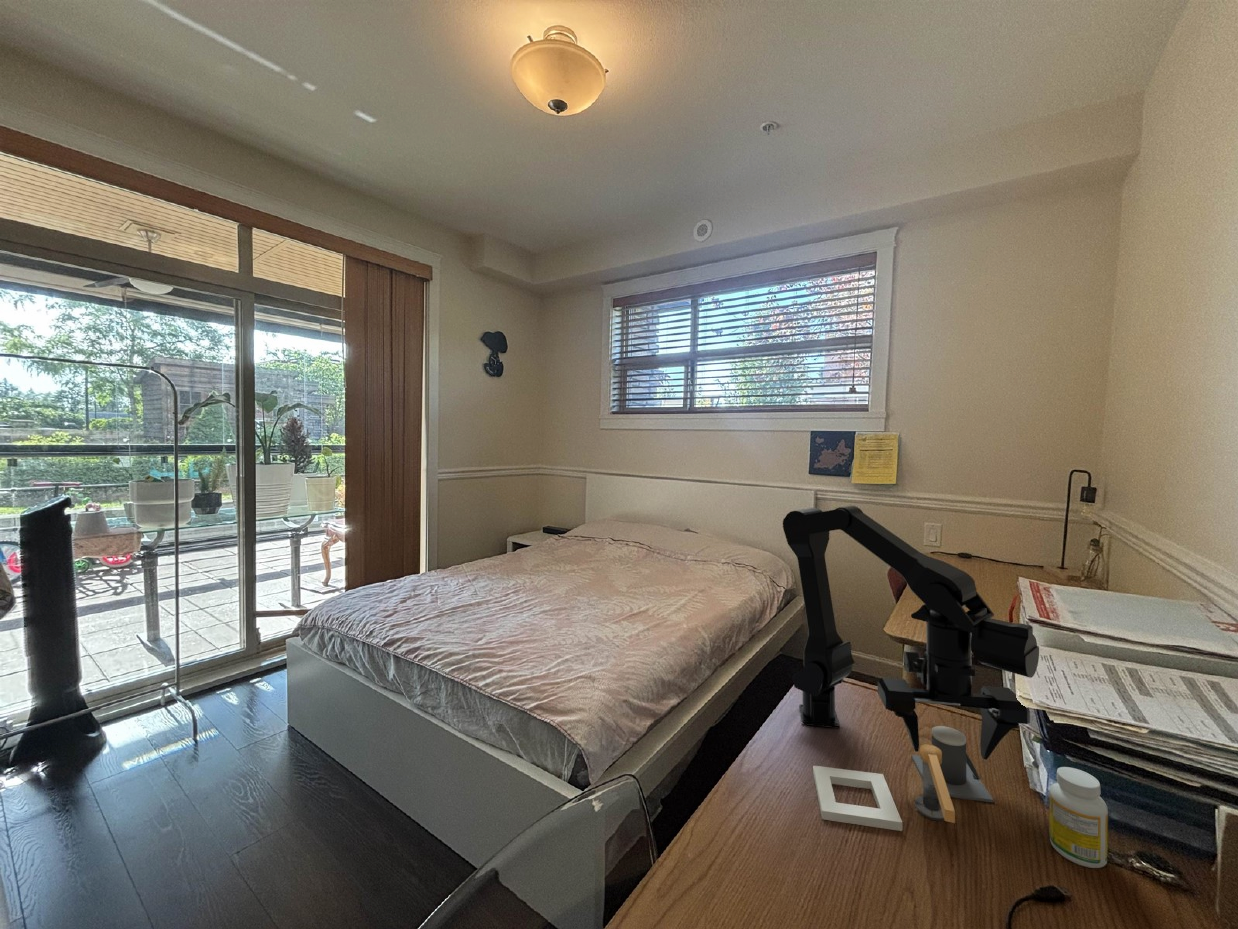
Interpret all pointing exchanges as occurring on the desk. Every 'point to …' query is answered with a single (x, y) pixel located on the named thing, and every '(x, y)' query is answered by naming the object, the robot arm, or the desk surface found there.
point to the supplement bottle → (1078, 818)
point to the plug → (951, 753)
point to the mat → (964, 791)
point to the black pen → (972, 768)
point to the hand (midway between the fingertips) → (949, 753)
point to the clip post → (929, 798)
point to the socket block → (856, 814)
